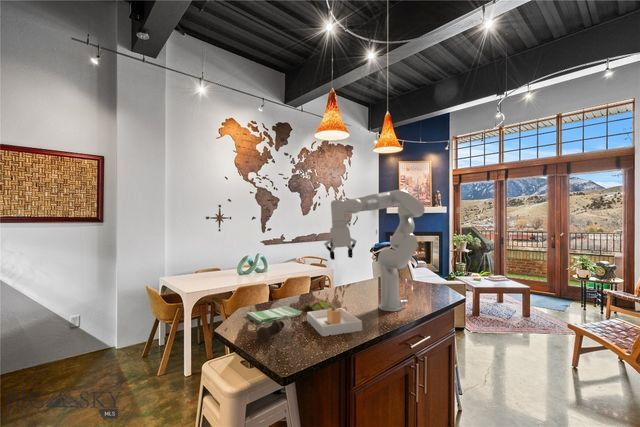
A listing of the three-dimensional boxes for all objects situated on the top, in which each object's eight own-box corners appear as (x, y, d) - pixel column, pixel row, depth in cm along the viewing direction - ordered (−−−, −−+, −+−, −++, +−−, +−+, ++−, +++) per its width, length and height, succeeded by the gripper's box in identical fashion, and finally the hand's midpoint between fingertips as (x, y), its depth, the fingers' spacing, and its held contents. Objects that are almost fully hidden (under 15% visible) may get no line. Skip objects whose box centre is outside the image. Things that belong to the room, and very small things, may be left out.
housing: (341, 315, 147) (341, 307, 148) (362, 330, 127) (362, 321, 127) (307, 320, 142) (307, 312, 142) (322, 336, 121) (322, 326, 121)
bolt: (283, 333, 131) (263, 344, 118) (274, 326, 133) (254, 336, 119) (288, 322, 130) (269, 332, 117) (280, 315, 132) (260, 324, 119)
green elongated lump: (320, 316, 143) (300, 296, 165) (322, 330, 144) (302, 308, 166) (341, 308, 147) (320, 290, 170) (343, 322, 149) (321, 301, 171)
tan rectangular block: (335, 321, 136) (335, 304, 136) (340, 325, 130) (340, 307, 131) (327, 322, 135) (327, 305, 135) (332, 326, 129) (331, 308, 129)
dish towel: (303, 315, 151) (303, 310, 151) (261, 326, 136) (261, 320, 137) (284, 308, 165) (284, 303, 165) (245, 317, 150) (245, 311, 151)
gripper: (351, 223, 156) (353, 256, 156) (320, 225, 150) (322, 259, 149) (358, 223, 149) (360, 257, 149) (326, 225, 143) (328, 261, 142)
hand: (341, 258), depth 149 cm, fingers open, 9 cm apart
